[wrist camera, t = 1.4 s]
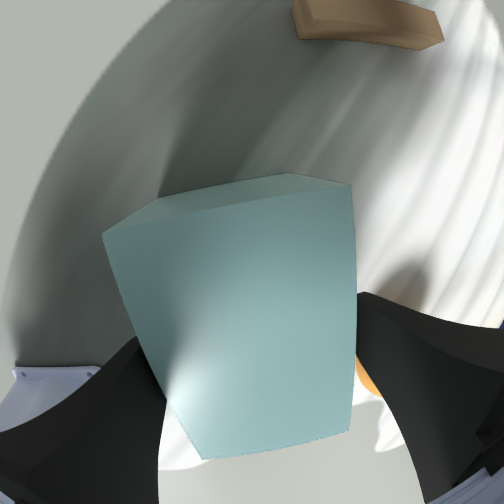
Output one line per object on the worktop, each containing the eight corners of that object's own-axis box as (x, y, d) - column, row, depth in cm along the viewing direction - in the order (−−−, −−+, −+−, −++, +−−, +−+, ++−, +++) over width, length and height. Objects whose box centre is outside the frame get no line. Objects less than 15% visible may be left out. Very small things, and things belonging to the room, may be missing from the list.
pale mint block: (204, 364, 16) (202, 459, 10) (156, 198, 13) (101, 234, 7) (308, 344, 17) (348, 430, 10) (288, 172, 13) (350, 185, 7)
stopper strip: (298, 39, 11) (313, 19, 9) (290, 9, 11) (303, -14, 8) (420, 50, 12) (444, 40, 9) (411, 24, 11) (434, 11, 9)
